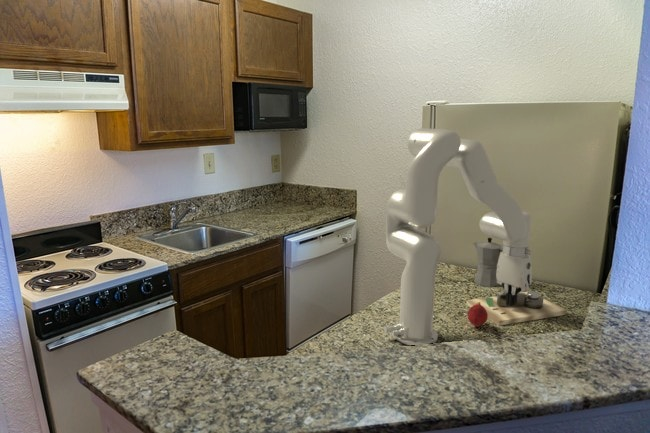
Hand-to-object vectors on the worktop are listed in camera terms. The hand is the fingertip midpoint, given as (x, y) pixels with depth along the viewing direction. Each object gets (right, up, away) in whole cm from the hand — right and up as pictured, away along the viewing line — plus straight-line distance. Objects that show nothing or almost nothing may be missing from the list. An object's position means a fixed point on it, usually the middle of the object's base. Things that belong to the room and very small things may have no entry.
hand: (510, 304), depth 151 cm
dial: (+4, -1, +3) cm, 5 cm away
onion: (-14, -5, -8) cm, 17 cm away
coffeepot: (+3, +3, +28) cm, 28 cm away
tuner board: (+3, -2, +4) cm, 6 cm away
